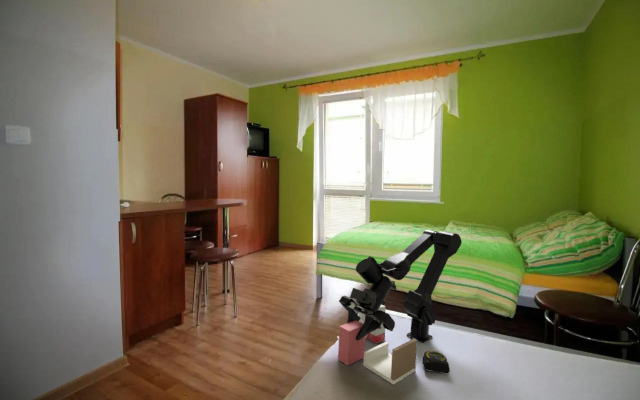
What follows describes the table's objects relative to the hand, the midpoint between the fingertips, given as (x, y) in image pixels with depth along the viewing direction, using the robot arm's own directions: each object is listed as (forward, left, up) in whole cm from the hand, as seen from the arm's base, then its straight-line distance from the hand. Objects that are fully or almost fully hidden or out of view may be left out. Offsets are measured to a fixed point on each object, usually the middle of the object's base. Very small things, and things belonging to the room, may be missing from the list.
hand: (351, 336), depth 92 cm
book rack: (-6, +10, -7) cm, 13 cm away
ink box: (-16, -6, -7) cm, 18 cm away
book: (0, 0, -7) cm, 7 cm away
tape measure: (-16, +18, -7) cm, 26 cm away
